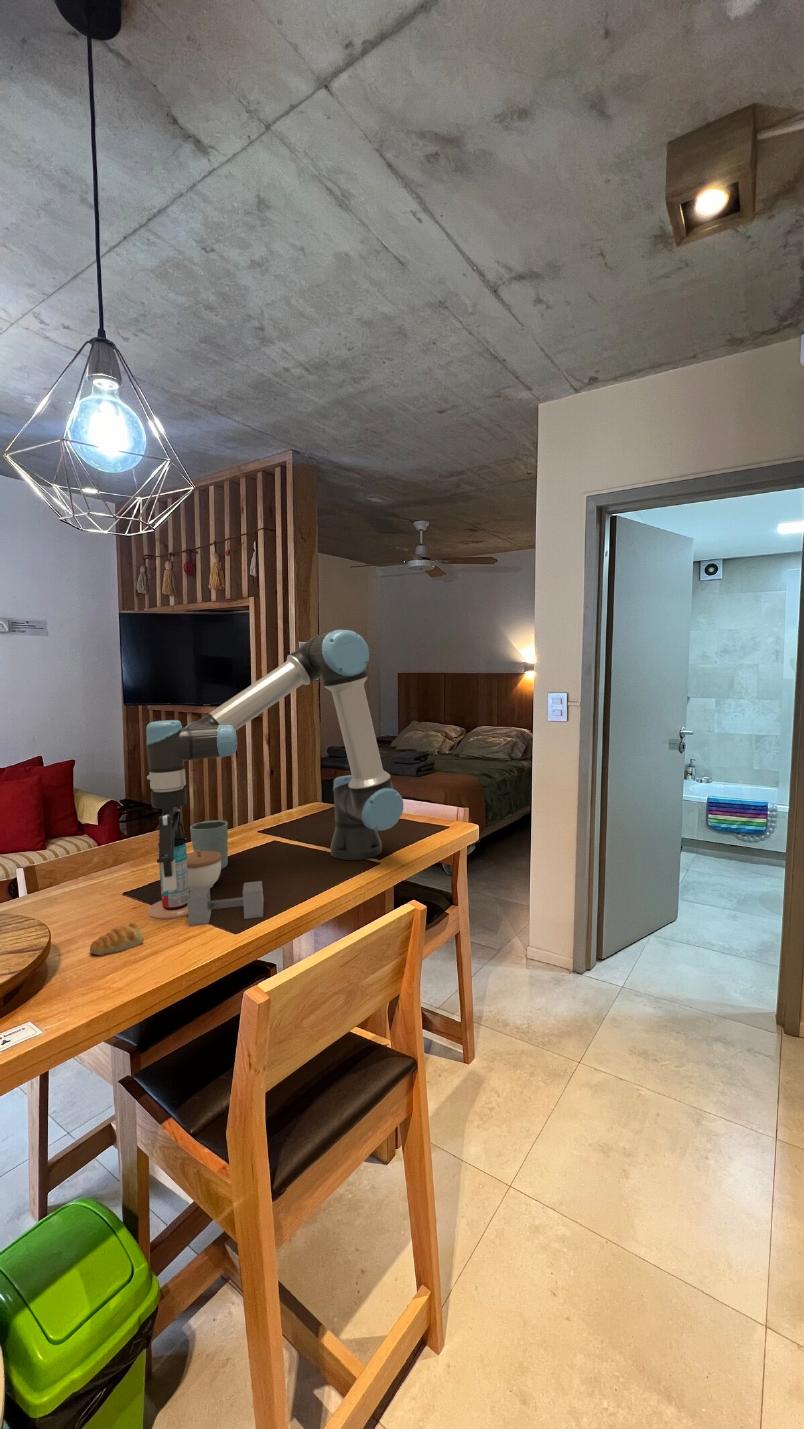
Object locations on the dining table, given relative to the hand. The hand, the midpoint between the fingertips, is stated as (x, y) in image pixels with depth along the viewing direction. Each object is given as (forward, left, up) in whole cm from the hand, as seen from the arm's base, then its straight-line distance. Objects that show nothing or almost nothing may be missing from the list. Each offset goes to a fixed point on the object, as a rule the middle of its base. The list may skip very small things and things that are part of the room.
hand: (175, 879), depth 135 cm
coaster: (0, 0, -7) cm, 7 cm away
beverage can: (0, 0, -6) cm, 6 cm away
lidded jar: (-4, -13, -7) cm, 15 cm away
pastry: (+8, +17, -7) cm, 20 cm away
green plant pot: (-5, -29, -7) cm, 30 cm away
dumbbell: (-12, +6, -7) cm, 15 cm away
